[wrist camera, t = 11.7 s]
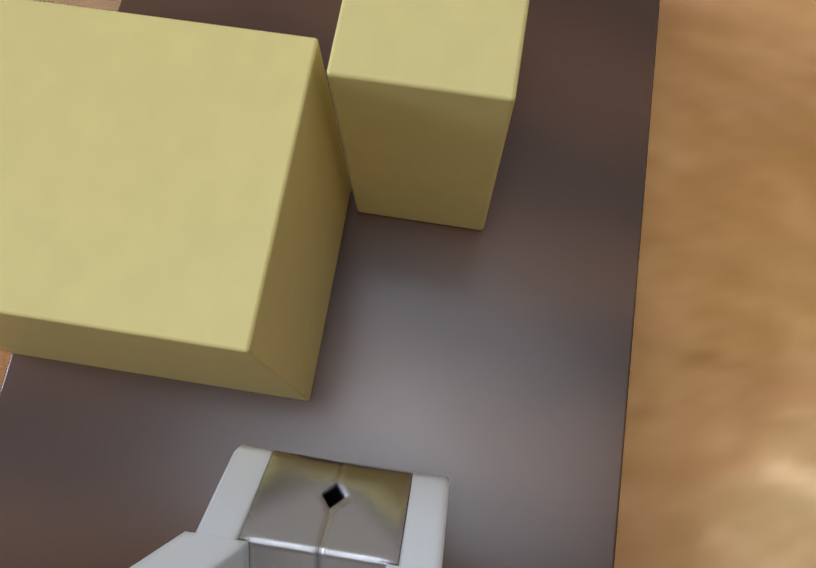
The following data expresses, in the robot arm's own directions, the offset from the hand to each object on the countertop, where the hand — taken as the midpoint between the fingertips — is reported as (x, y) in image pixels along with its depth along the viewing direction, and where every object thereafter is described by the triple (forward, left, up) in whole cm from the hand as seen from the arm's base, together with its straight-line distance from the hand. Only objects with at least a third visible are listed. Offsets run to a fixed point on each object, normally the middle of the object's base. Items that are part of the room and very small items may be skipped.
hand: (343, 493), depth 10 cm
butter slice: (+10, 0, -8) cm, 13 cm away
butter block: (+5, +6, -8) cm, 11 cm away
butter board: (+5, +2, -9) cm, 10 cm away
